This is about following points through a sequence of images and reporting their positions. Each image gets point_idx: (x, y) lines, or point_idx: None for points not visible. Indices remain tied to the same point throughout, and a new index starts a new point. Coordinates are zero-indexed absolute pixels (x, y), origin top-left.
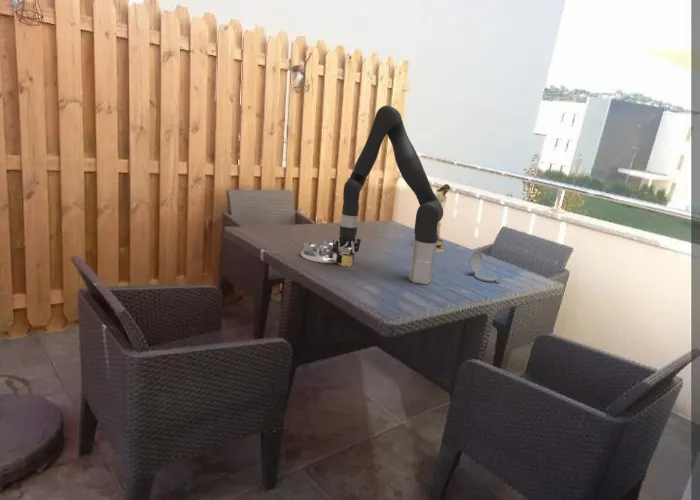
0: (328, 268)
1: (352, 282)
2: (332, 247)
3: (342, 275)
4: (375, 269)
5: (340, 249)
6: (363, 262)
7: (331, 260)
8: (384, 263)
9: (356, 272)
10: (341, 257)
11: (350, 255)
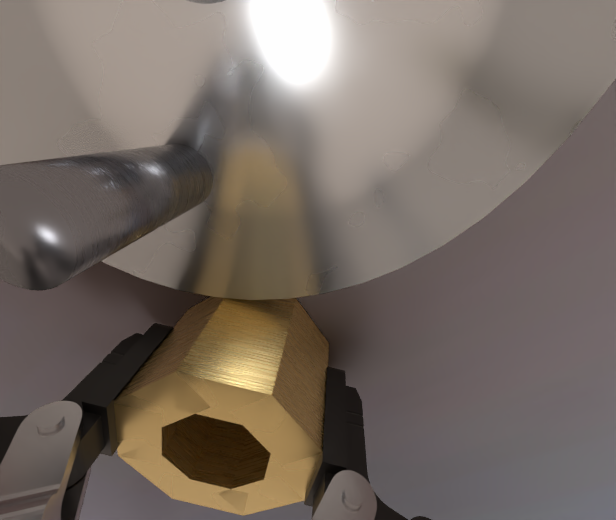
0: (26, 329)
1: None
2: (21, 266)
3: None
4: None
5: (54, 509)
6: (483, 412)
7: (122, 260)
8: (609, 511)
9: None
10: None
11: (246, 495)
